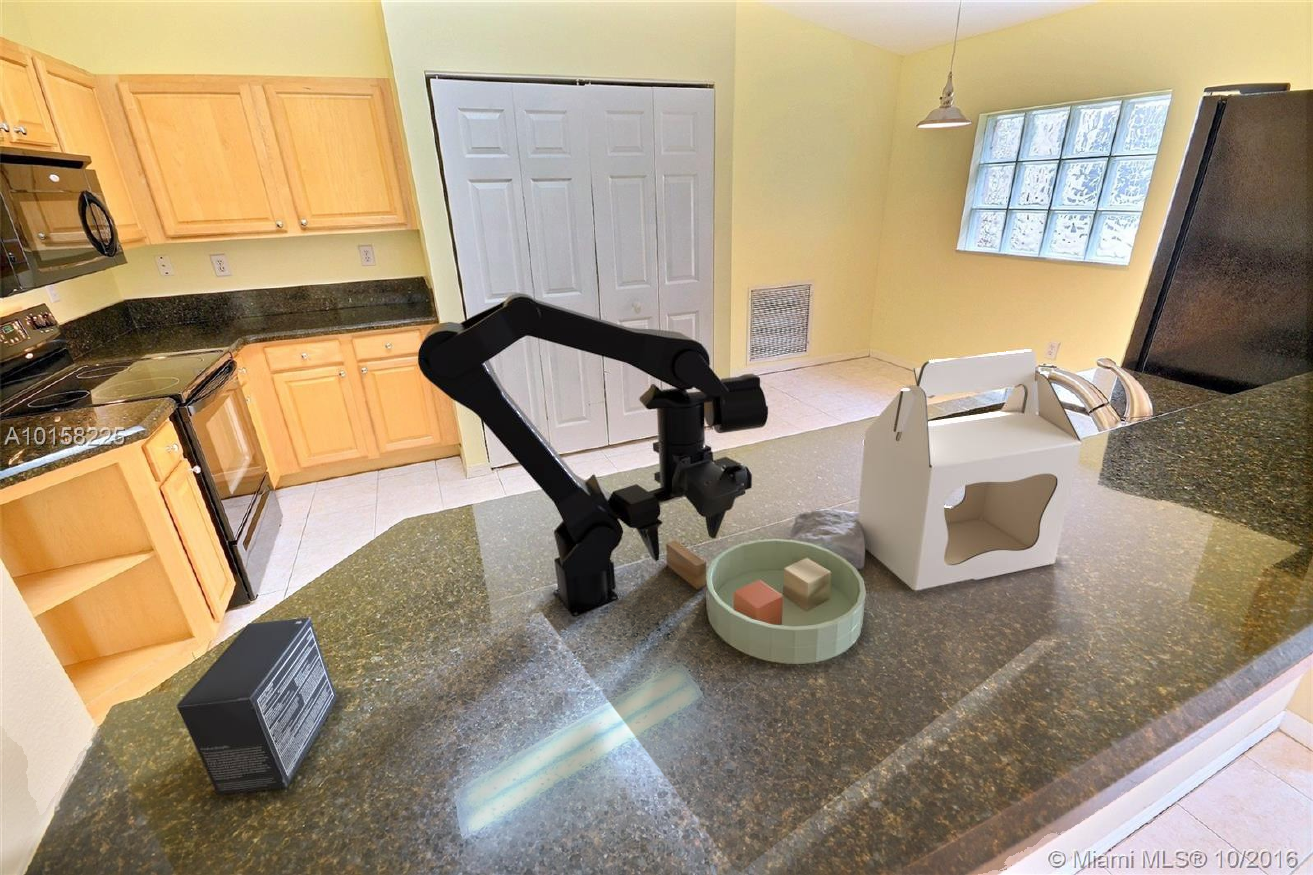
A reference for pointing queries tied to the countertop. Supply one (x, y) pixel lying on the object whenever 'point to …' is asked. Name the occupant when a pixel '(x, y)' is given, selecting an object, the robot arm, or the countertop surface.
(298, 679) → the small box
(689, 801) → the countertop surface
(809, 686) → the countertop surface
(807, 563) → the cream block
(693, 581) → the oak wood brick
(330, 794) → the countertop surface
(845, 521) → the stone block
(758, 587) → the terracotta block
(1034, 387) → the gable box
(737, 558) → the bowl
